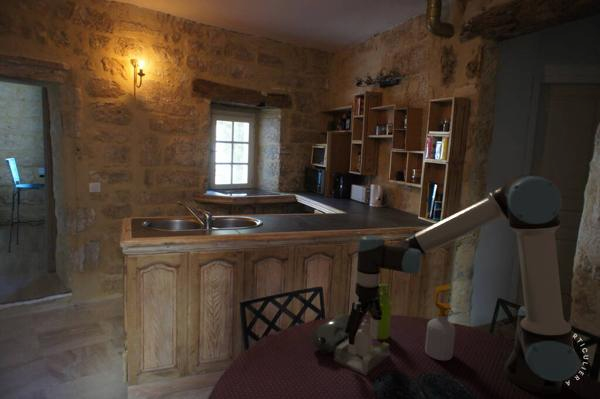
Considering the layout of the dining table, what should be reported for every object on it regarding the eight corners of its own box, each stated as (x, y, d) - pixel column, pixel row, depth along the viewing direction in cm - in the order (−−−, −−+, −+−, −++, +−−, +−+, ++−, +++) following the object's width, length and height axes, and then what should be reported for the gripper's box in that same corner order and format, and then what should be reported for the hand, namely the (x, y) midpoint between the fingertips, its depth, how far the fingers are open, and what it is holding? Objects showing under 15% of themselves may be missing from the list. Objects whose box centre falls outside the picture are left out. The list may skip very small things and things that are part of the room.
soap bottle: (455, 363, 123) (462, 292, 120) (426, 358, 125) (433, 289, 122) (449, 349, 132) (456, 283, 129) (423, 345, 134) (429, 280, 130)
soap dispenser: (367, 332, 141) (371, 282, 138) (383, 330, 143) (387, 281, 140) (375, 340, 136) (379, 288, 133) (391, 338, 138) (396, 286, 135)
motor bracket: (389, 355, 126) (391, 330, 125) (362, 378, 112) (364, 351, 111) (336, 332, 140) (337, 310, 139) (306, 351, 126) (307, 326, 125)
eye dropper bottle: (366, 350, 127) (368, 316, 126) (372, 358, 121) (375, 323, 120) (353, 350, 126) (356, 316, 125) (359, 359, 120) (362, 323, 119)
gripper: (375, 271, 132) (371, 328, 135) (336, 290, 113) (332, 355, 116) (395, 277, 127) (390, 335, 130) (357, 297, 108) (352, 364, 111)
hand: (363, 344), depth 123 cm, fingers open, 13 cm apart
